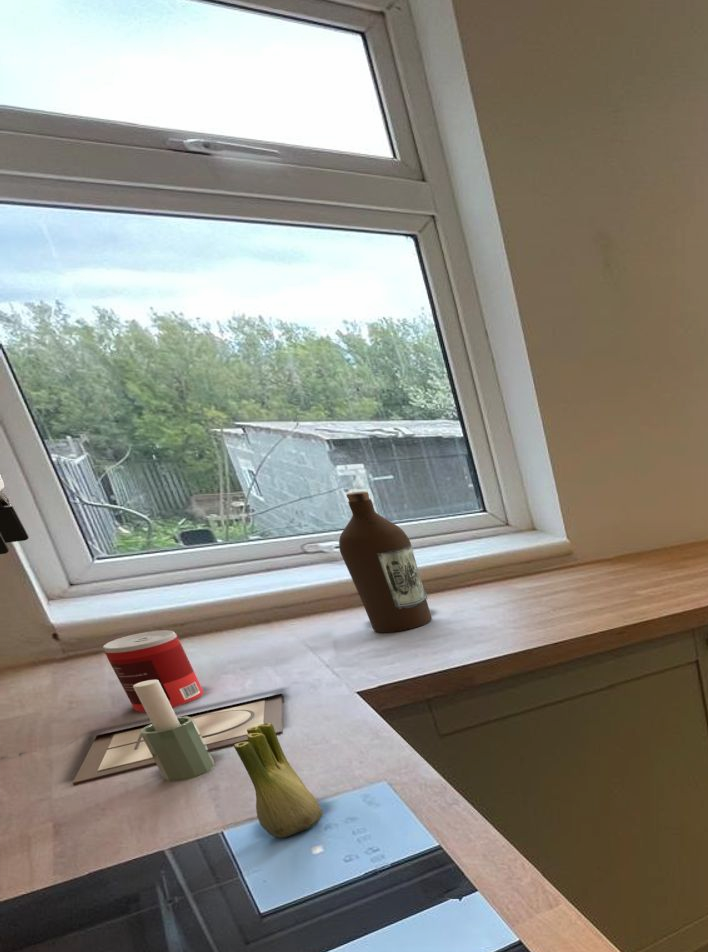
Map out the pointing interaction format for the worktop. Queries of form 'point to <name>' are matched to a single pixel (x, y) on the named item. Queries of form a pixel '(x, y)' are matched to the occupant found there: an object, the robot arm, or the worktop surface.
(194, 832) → the worktop surface
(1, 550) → the robot arm
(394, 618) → the brown stoneware bottle
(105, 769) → the framed abstract picture
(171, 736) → the pen cup
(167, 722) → the cylinder
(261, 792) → the fennel bulb
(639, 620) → the worktop surface
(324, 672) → the worktop surface
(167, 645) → the canned food
